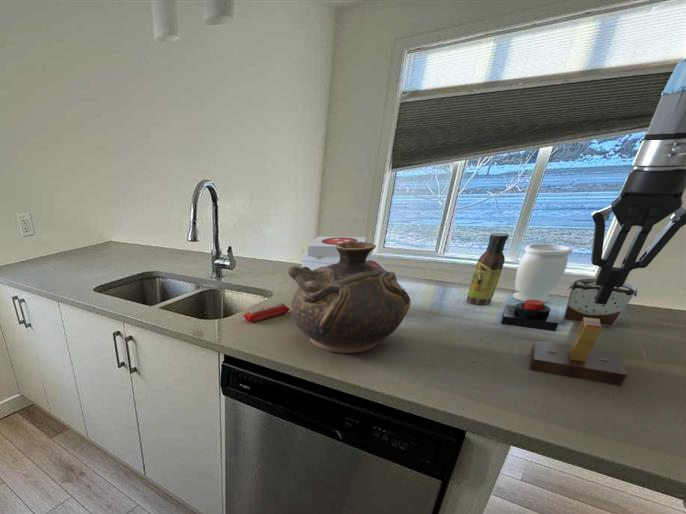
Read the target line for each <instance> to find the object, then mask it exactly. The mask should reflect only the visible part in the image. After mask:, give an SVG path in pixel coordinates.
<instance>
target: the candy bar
mask: <svg viewBox="0 0 686 514" xmlns="http://www.w3.org/2000/svg"><path fill="white" fill-rule="evenodd" d="M289 311H291V309H290V307H288V306H287V305H285V304H284V303H282V302H280V303H276V304H271V305H268V306H263V307H259V308H256V309H251V310H248V311H246V312H245V313H244V314H242V316H243V317H244V319H245V321H246V322H249V323H257V322H259V321H263V320H266V319H270V318H274V317H278V316H281V315H285V314H287V313H288V312H289Z"/></svg>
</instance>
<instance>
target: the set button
mask: <svg viewBox="0 0 686 514" xmlns="http://www.w3.org/2000/svg"><path fill="white" fill-rule="evenodd" d="M523 303H524V306H523V307H524V308H526V309H531V310H543V307H544V305H546V302H543V301H540V300H526V301H525V302H523Z"/></svg>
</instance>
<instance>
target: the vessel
mask: <svg viewBox="0 0 686 514" xmlns="http://www.w3.org/2000/svg"><path fill="white" fill-rule="evenodd" d="M335 247H336V249H337V250H338V252H339V254H340V260H339V262H338V263H336V264H332V265H329V266H326V267H320V268H317V269H315V270H313V271H312V270H311V269H310V268H308V267H302V266H301V267H299V266H297V265H296V266H295V265H292V266H290V267H289V268H288V269H287V274H288V275H289V277H291V278H292V279H293V280H294V281H295V282H296V283H297V289H296V290H295V292H294V295H293V298H292V301H291V314H292V317H293V321H294V323H295V325H296V326H297V328H298V329H299V331H301V332H302V334H304V335H305V336H306V337H308V338H309V341H310V343H312V345H314V346H315V347H318V348H319V349H322V350H323V351H327V352H332V353H336V354H337V353H338V354H355V353H361V352H366V351H369V350H371V349H373V348H375V346H376V345H377V343H379V342H380V341H382V340H384V339H386V338H388V336H390V335H392V334H393V333H394V332H395V331H396V330H397V329H398V328H399V326H400V325H401V324H402V322H403V321H404V319H405V316H406V315H407V313H408V311H409V310H410V306H411V297H410V295H409V293H408V292H407V291H406V289H405V288H404V289H405V290H404V289H402V288H401V287H400V286H399V284H400V283H399V282H398V283H399V284H398V283H397V281H398V280H397V276H396V273H395V272H394V271H389V272H387V271H385V270H383V269H380V268H378V267H373V266H371V265H368V264H366V258H367V256H368V254H369V255H370V253H371V252H372V251H373V250H375V249H376V248H377V245H376V244H375V243H372V242H368V241H365V242H344V243H339V244H337V245H336V246H335Z"/></svg>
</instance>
